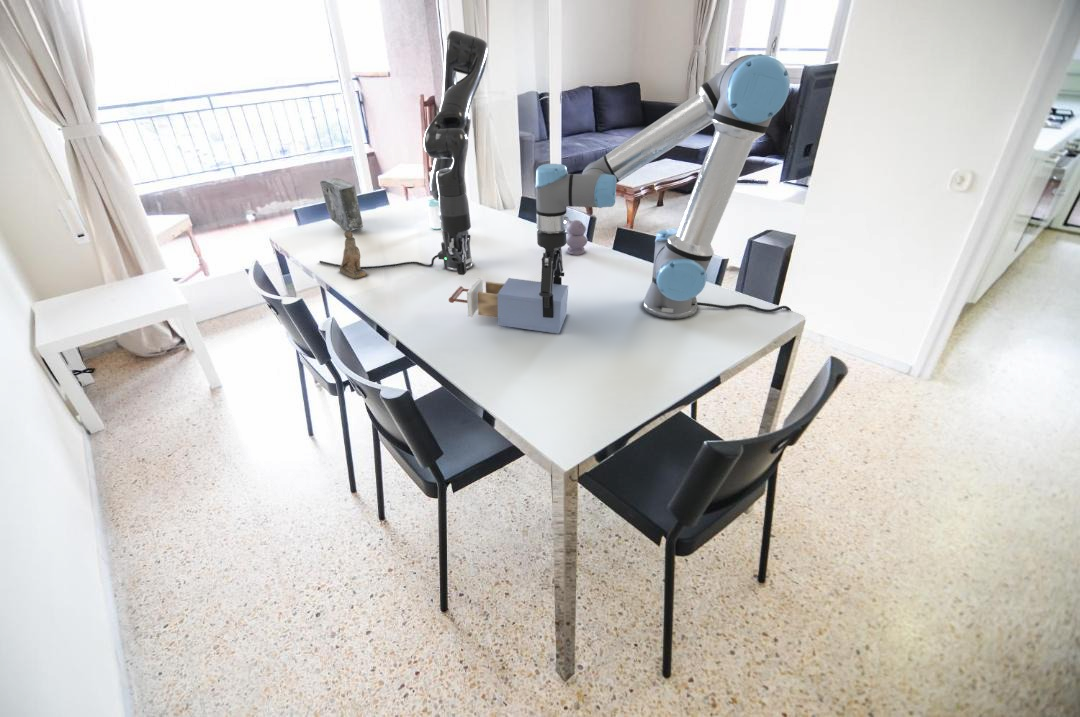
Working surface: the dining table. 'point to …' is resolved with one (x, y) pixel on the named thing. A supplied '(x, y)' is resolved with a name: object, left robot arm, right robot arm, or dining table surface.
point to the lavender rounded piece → (576, 237)
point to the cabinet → (530, 306)
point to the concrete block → (342, 203)
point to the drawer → (480, 298)
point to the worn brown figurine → (351, 258)
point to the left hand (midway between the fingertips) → (462, 273)
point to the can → (434, 214)
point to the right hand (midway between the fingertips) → (552, 307)
